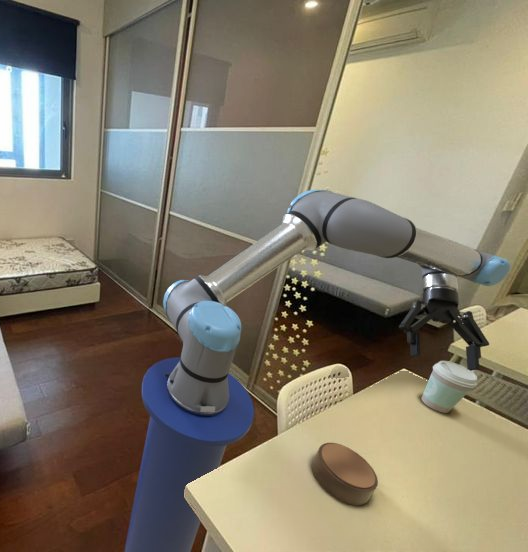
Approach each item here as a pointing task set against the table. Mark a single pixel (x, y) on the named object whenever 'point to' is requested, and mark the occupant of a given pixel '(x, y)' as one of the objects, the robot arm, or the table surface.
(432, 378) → the coffee cup
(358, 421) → the table surface
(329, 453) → the cup stand
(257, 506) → the table surface
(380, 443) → the table surface
